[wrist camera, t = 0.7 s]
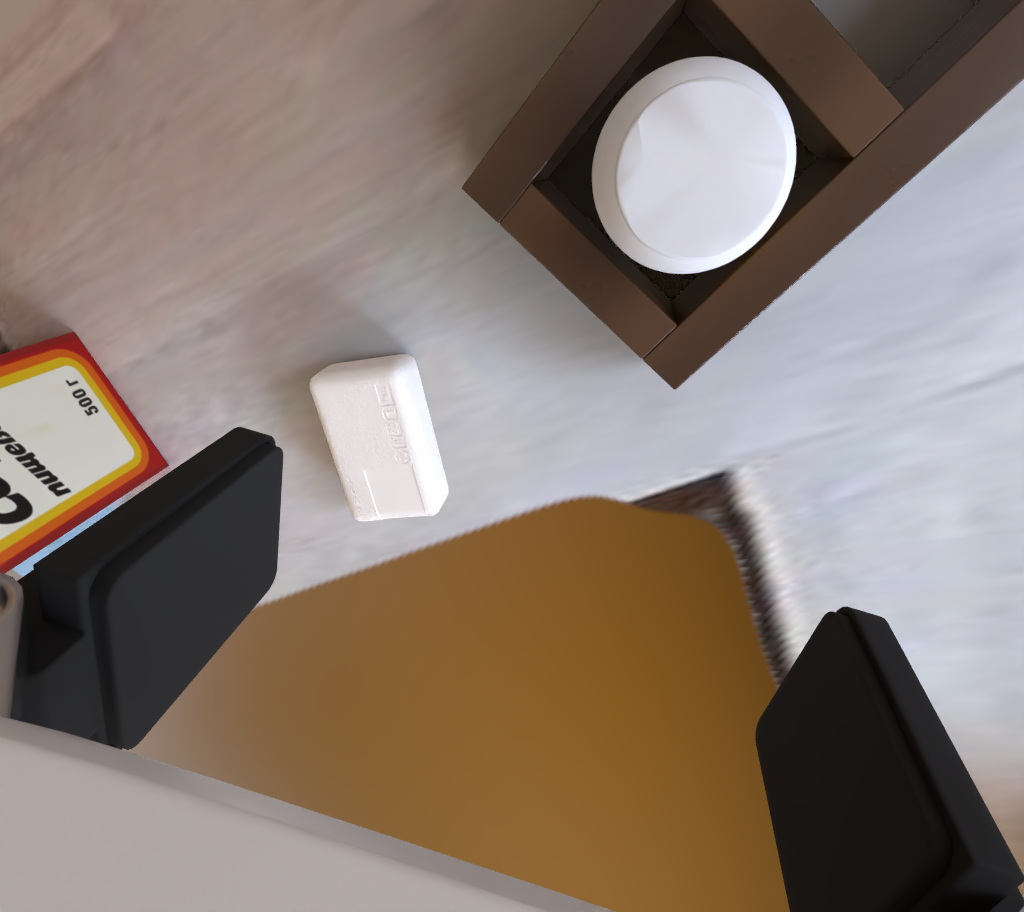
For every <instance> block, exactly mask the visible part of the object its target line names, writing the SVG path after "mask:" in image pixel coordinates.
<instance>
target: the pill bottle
mask: <svg viewBox="0 0 1024 912" xmlns="http://www.w3.org/2000/svg"><path fill="white" fill-rule="evenodd" d="M795 166H796V139H795V133H794V127H793V124H792V120H791V117H790V115H789V112H788V110H787V108H786V106H785V104H784V102H783V100H782V98H781V97H780V95H779V94H778V93H777V91H776V90H775V89H774V88H773V86H772V85H771V84H770V83H769V82H768V81H767V80H766V79H765V78H764V77H763V76H761V75H760V74H759V73H757V72H756V71H754V70H753V69H751V68H749V67H748V66H746V65H744V64H742V63H739V62H736V61H733V60H730V59H726V58H720V57H712V56H702V57H692V58H686V59H682V60H678V61H675V62H672V63H669V64H667V65H665V66H662V67H660V68H658V69H656V70H655V71H653V72H651V73H650V74H648V75H647V76H645V77H644V78H642V79H641V80H640V81H639V82H637V83H636V84H635V85H634V86H633V87H632V88H631V89H630V90H629V91H628V92H627V93H626V94H625V95H624V96H623V97H622V98H621V100H620V101H619V102H618V103H617V105H616V106H615V108H614V109H613V110H612V112H611V114H610V115H609V117H608V119H607V121H606V123H605V125H604V127H603V129H602V131H601V134H600V136H599V139H598V142H597V145H596V149H595V153H594V159H593V166H592V189H593V196H594V201H595V206H596V209H597V212H598V215H599V218H600V220H601V222H602V224H603V226H604V228H605V230H606V232H607V233H608V235H609V236H610V238H611V239H612V240H613V242H614V243H615V244H616V245H617V246H618V247H619V248H620V249H621V250H622V251H623V252H624V253H625V254H626V255H628V256H629V257H630V258H632V259H633V260H634V261H636V262H638V263H640V264H642V265H644V266H646V267H648V268H651V269H654V270H657V271H661V272H665V273H672V274H691V273H699V272H704V271H707V270H711V269H714V268H717V267H720V266H722V265H725V264H727V263H729V262H731V261H732V260H734V259H736V258H737V257H739V256H741V255H742V254H744V253H745V252H746V251H748V250H749V249H750V248H751V247H752V246H754V245H755V244H756V243H757V242H758V241H759V240H760V239H761V238H762V237H763V236H764V234H765V233H766V232H767V231H768V230H769V228H770V227H771V226H772V224H773V223H774V222H775V220H776V219H777V217H778V215H779V214H780V212H781V210H782V208H783V206H784V204H785V202H786V200H787V198H788V195H789V192H790V189H791V186H792V182H793V178H794V172H795Z"/></svg>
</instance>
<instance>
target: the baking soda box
mask: <svg viewBox="0 0 1024 912" xmlns="http://www.w3.org/2000/svg"><path fill="white" fill-rule="evenodd" d="M168 466H169V465H168V464H167V462H166V461H165V459H164V458H163V457H162V455H161V454H160V452H159V451H158V449H157V448H156V447H155V445H154V444H153V442H152V441H151V440H150V438H149V437H148V435H147V434H146V432H145V431H144V430H143V428H142V427H141V425H140V424H139V423H138V421H137V420H136V418H135V417H134V416H133V414H132V413H131V411H130V410H129V408H128V407H127V406H126V404H125V403H124V401H123V400H122V399H121V397H120V396H119V394H118V393H117V392H116V390H115V389H114V387H113V386H112V384H111V383H110V382H109V380H108V379H107V377H106V376H105V375H104V373H103V372H102V370H101V369H100V368H99V366H98V365H97V363H96V362H95V360H94V359H93V358H92V356H91V355H90V353H89V352H88V351H87V349H86V348H85V346H84V345H83V344H82V342H81V341H80V339H79V338H78V336H77V335H76V334H75V332H72V333H69V334H66V335H62V336H59V337H56V338H53V339H49V340H46V341H43V342H40V343H36V344H33V345H30V346H27V347H23V348H20V349H17V350H14V351H10V352H7V353H4V354H1V355H0V572H1V573H4V574H5V573H6V572H8V571H9V570H11V569H12V568H14V567H15V566H17V565H18V564H20V563H21V562H23V561H25V560H26V559H28V558H29V557H31V556H32V555H34V554H35V553H37V552H38V551H40V550H41V549H43V548H44V547H46V546H47V545H49V544H50V543H52V542H53V541H55V540H57V539H58V538H60V537H61V536H63V535H64V534H66V533H67V532H69V531H70V530H72V529H73V528H75V527H76V526H78V525H79V524H81V523H82V522H84V521H85V520H87V519H88V518H90V517H92V516H93V515H95V514H96V513H98V512H99V511H101V510H102V509H104V508H105V507H107V506H108V505H110V504H111V503H113V502H114V501H116V500H117V499H119V498H120V497H122V496H123V495H125V494H127V493H128V492H130V491H131V490H133V489H134V488H136V487H137V486H139V485H140V484H142V483H143V482H145V481H146V480H148V479H149V478H151V477H152V476H154V475H155V474H157V473H159V472H160V471H162V470H163V469H165V468H166V467H168Z"/></svg>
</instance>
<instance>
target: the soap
mask: <svg viewBox="0 0 1024 912" xmlns="http://www.w3.org/2000/svg"><path fill="white" fill-rule="evenodd" d="M309 386H310V391H311V394H312V396H313V400H314V403H315V405H316V409H317V412H318V415H319V418H320V421H321V424H322V427H323V429H324V432H325V436H326V439H327V441H328V445H329V447H330V451H331V453H332V457H333V460H334V462H335V466H336V468H337V472H338V474H339V478H340V481H341V483H342V487H343V489H344V493H345V495H346V498H347V501H348V504H349V507H350V510H351V513H352V515H353V517H354V518H355V519H357V520H359V521H370V520H382V519H386V518H399V517H413V516H427V515H428V516H432V515H435V514H436V513H437V512H438V511H439V510H440V508H441V506H442V504H443V502H444V501H445V499H446V497H447V495H448V484H447V481H446V477H445V472H444V469H443V465H442V461H441V457H440V453H439V449H438V445H437V441H436V437H435V433H434V429H433V425H432V422H431V418H430V414H429V410H428V406H427V403H426V398H425V395H424V391H423V387H422V383H421V379H420V375H419V371H418V367H417V364H416V361H415V359H414V358H413V357H412V356H411V355H408V354H398V355H391V356H385V357H377V358H370V359H363V360H356V361H349V362H342V363H335V364H332V365H329V366H327V367H326V368H324V369H323V370H321V371H320V372H318V373H317V374H315V375H314V376H313V377H312V378H311V380H310V383H309Z"/></svg>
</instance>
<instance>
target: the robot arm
mask: <svg viewBox="0 0 1024 912" xmlns="http://www.w3.org/2000/svg"><path fill="white" fill-rule="evenodd" d="M282 469H283V451H282V449H281V448H280V447H277V446H276V445H275V441H274V438H273V437H272V436H269V435H266V434H262V433H259V432H256V431H252V430H249V429H246V428H242V427H237V428H235V429H233V430H231V431H230V432H228V433H227V434H225V435H224V436H223V437H221V438H220V439H218V440H217V441H215V442H214V443H212V444H211V445H209V446H208V447H206V448H205V449H203V450H202V451H200V452H199V453H197V454H196V455H195V456H193V457H192V458H190V459H189V460H187V461H186V462H184V463H183V464H181V465H180V466H178V467H177V468H175V469H174V470H172V471H171V472H170V473H168V474H167V475H165V476H164V477H162V478H161V479H159V480H158V481H156V482H155V483H153V484H152V485H150V486H149V487H147V488H146V489H144V490H143V491H142V492H140V493H139V494H137V495H136V496H134V497H133V498H131V499H130V500H128V501H127V502H125V503H124V504H122V505H121V506H119V507H118V508H116V509H115V510H114V511H112V512H111V513H109V514H108V515H106V516H105V517H103V518H102V519H100V520H99V521H97V522H96V523H94V524H93V525H91V526H90V527H88V528H87V529H86V530H84V531H83V532H81V533H80V534H78V535H77V536H75V537H74V538H72V539H71V540H69V541H68V542H66V543H65V544H63V545H62V546H61V547H59V548H58V549H56V550H55V551H53V552H52V553H50V554H49V555H47V556H46V557H44V558H43V559H41V560H40V561H38V562H37V563H35V564H34V565H33V567H34V570H33V571H31V572H30V573H28V574H27V575H25V576H24V577H22V578H21V579H20V580H18V581H16V580H15V579H14V578H13V577H11V576H8V575H6V574H4V573H1V572H0V912H615V911H612V910H609V909H606V908H604V907H601V906H598V905H595V904H591V903H588V902H585V901H582V900H579V899H576V898H573V897H571V896H568V895H564V894H561V893H559V892H556V891H553V890H550V889H547V888H544V887H541V886H538V885H534V884H532V883H529V882H526V881H522V880H519V879H517V878H514V877H511V876H508V875H505V874H502V873H499V872H496V871H493V870H490V869H487V868H484V867H481V866H478V865H475V864H472V863H469V862H466V861H463V860H460V859H457V858H454V857H450V856H448V855H445V854H442V853H439V852H436V851H433V850H430V849H427V848H424V847H421V846H417V845H415V844H412V843H408V842H405V841H402V840H399V839H396V838H393V837H390V836H387V835H384V834H381V833H378V832H375V831H372V830H369V829H366V828H363V827H360V826H357V825H354V824H351V823H348V822H345V821H342V820H339V819H336V818H333V817H330V816H326V815H323V814H320V813H317V812H314V811H311V810H308V809H305V808H302V807H299V806H296V805H293V804H289V803H287V802H284V801H281V800H277V799H274V798H271V797H268V796H265V795H262V794H259V793H256V792H253V791H250V790H247V789H244V788H240V787H237V786H235V785H231V784H229V783H225V782H222V781H219V780H216V779H213V778H210V777H207V776H204V775H201V774H198V773H195V772H192V771H189V770H186V769H182V768H179V767H176V766H173V765H169V764H166V763H163V762H159V761H156V760H153V759H150V758H147V757H143V756H140V755H137V754H134V753H130V752H127V751H123V750H122V748H124V749H127V750H129V749H132V748H133V747H135V746H136V745H137V744H138V743H139V742H140V741H141V740H142V739H143V738H144V737H145V736H146V734H147V733H148V732H149V731H150V730H151V728H152V727H153V726H154V725H155V724H156V723H157V721H158V720H159V719H160V718H161V717H162V716H163V714H164V713H165V712H166V711H167V709H168V708H169V707H170V706H171V705H172V704H173V702H174V701H175V700H176V699H177V698H178V697H179V695H180V694H181V693H182V692H183V691H184V689H185V688H186V687H187V686H188V684H189V683H190V682H191V681H192V680H193V679H194V678H195V677H196V675H197V674H198V673H199V672H200V671H201V669H202V668H203V667H204V666H205V665H206V664H207V662H208V661H209V660H210V659H211V658H212V656H213V655H214V654H215V653H216V652H217V650H218V649H219V648H220V647H221V646H222V644H223V643H224V642H225V641H226V640H227V639H228V637H229V636H230V635H231V634H232V633H233V632H234V630H235V629H236V628H237V627H238V626H239V624H240V623H241V622H242V621H243V620H244V619H245V617H246V616H247V615H248V614H249V613H250V612H251V610H252V609H253V608H254V607H255V606H256V604H257V603H258V602H259V601H260V600H261V599H262V597H263V596H264V595H265V594H266V593H267V592H268V590H269V589H270V587H271V585H272V584H273V581H274V579H275V576H276V572H277V559H278V541H279V523H280V505H281V487H282ZM756 746H757V750H758V756H759V760H760V765H761V771H762V775H763V780H764V785H765V790H766V795H767V800H768V805H769V810H770V815H771V820H772V825H773V830H774V835H775V839H776V844H777V849H778V854H779V859H780V864H781V869H782V874H783V879H784V884H785V889H786V894H787V898H788V903H789V908H790V912H1024V899H1023V897H1022V895H1021V893H1020V891H1019V889H1018V886H1019V885H1020V884H1022V883H1023V882H1024V875H1023V873H1022V872H1021V870H1020V868H1019V866H1018V864H1017V862H1016V860H1015V859H1014V857H1013V855H1012V853H1011V851H1010V849H1009V847H1008V845H1007V844H1006V842H1005V840H1004V838H1003V836H1002V834H1001V832H1000V831H999V829H998V827H997V825H996V823H995V821H994V819H993V818H992V816H991V814H990V812H989V810H988V808H987V806H986V805H985V803H984V801H983V799H982V797H981V795H980V793H979V792H978V790H977V788H976V786H975V784H974V782H973V780H972V779H971V777H970V775H969V773H968V771H967V769H966V767H965V765H964V764H963V762H962V760H961V758H960V756H959V754H958V752H957V751H956V749H955V747H954V745H953V743H952V741H951V739H950V738H949V736H948V734H947V732H946V730H945V728H944V726H943V725H942V723H941V721H940V719H939V717H938V715H937V713H936V712H935V710H934V708H933V706H932V704H931V702H930V700H929V699H928V697H927V695H926V693H925V691H924V689H923V687H922V685H921V684H920V682H919V680H918V678H917V676H916V674H915V672H914V671H913V669H912V667H911V665H910V663H909V661H908V659H907V658H906V656H905V654H904V652H903V650H902V648H901V646H900V645H899V643H898V641H897V639H896V637H895V635H894V633H893V632H892V630H891V628H890V626H889V624H888V623H887V621H886V620H885V619H884V618H882V617H880V616H877V615H873V614H870V613H867V612H863V611H860V610H857V609H853V608H850V607H842V608H840V609H839V610H838V611H837V612H836V613H835V612H828V613H826V614H825V615H824V617H823V618H822V620H821V621H820V623H819V624H818V626H817V628H816V629H815V631H814V632H813V634H812V636H811V637H810V639H809V640H808V642H807V644H806V645H805V647H804V648H803V650H802V652H801V653H800V655H799V656H798V658H797V660H796V661H795V663H794V665H793V666H792V668H791V669H790V671H789V673H788V674H787V676H786V677H785V679H784V681H783V682H782V684H781V685H780V687H779V689H778V690H777V692H776V693H775V695H774V697H773V698H772V700H771V702H770V703H769V705H768V706H767V708H766V709H765V711H764V713H763V715H762V716H761V717H760V719H759V722H758V724H757V728H756Z"/></svg>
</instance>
